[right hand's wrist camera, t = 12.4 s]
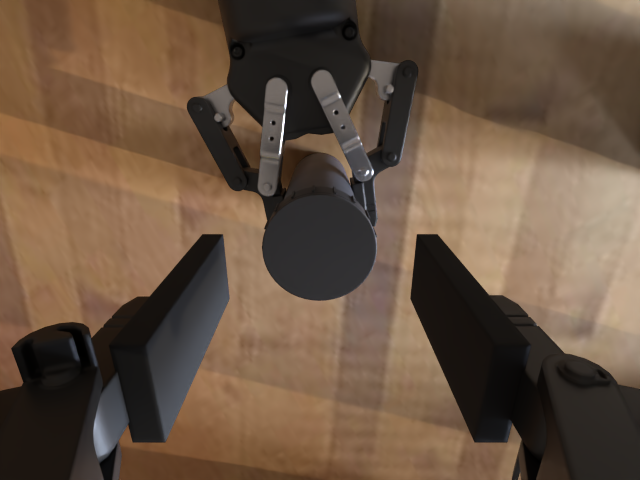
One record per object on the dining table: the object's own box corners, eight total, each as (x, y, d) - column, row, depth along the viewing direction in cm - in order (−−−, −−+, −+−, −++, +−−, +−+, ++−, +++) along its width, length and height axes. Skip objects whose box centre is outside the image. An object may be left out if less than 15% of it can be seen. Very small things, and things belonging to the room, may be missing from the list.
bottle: (305, 214, 32) (293, 303, 18) (284, 165, 30) (253, 220, 16) (354, 194, 31) (382, 271, 17) (335, 144, 30) (348, 183, 16)
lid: (291, 299, 19) (289, 316, 18) (247, 209, 17) (240, 219, 16) (387, 265, 18) (393, 280, 17) (350, 167, 17) (354, 174, 15)
